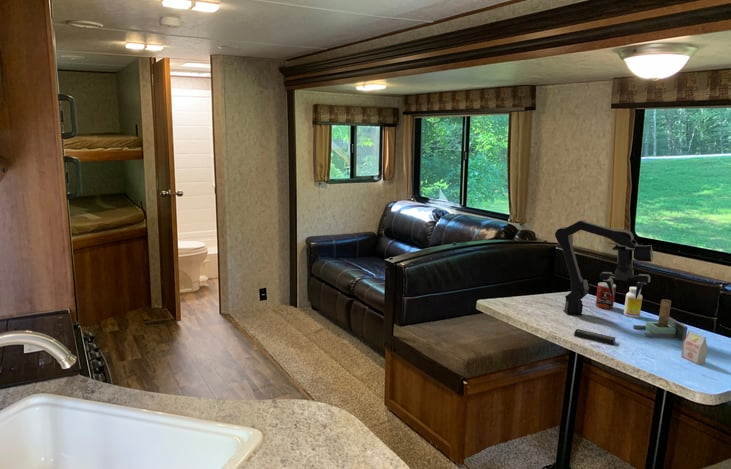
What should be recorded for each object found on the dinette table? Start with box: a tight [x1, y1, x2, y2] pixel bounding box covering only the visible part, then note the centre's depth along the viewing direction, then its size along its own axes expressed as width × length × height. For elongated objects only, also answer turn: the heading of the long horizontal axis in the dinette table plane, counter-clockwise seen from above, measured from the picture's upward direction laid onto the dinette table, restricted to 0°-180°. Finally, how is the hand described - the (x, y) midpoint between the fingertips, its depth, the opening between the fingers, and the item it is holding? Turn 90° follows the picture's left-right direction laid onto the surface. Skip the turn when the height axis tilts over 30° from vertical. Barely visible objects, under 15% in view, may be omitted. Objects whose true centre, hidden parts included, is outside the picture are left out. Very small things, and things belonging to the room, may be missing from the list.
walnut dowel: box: [657, 298, 672, 327], centre depth 225 cm, size 4×4×13 cm
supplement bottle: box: [623, 286, 643, 319], centre depth 248 cm, size 7×7×13 cm
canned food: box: [595, 281, 617, 310], centre depth 260 cm, size 8×8×11 cm
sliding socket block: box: [644, 321, 676, 334], centre depth 226 cm, size 8×8×4 cm
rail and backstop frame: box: [632, 316, 688, 342], centre depth 226 cm, size 14×16×6 cm
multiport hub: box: [573, 328, 616, 346], centre depth 217 cm, size 4×14×2 cm, turn 56°
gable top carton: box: [680, 330, 708, 365], centre depth 199 cm, size 4×7×10 cm, turn 17°
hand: (624, 297), depth 234 cm, fingers open, 9 cm apart
